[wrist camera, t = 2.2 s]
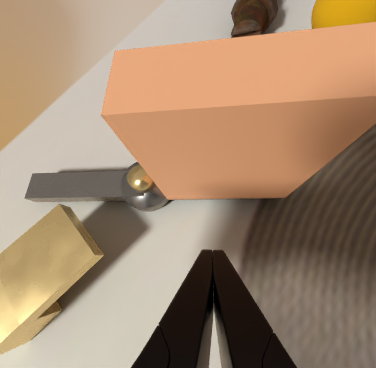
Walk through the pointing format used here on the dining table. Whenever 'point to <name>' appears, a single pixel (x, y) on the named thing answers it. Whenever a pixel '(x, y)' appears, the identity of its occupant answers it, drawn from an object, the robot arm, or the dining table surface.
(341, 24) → the doorknob
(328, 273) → the dining table surface
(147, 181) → the pintle
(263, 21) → the bolt
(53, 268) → the keeper
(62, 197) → the peach block with bar
